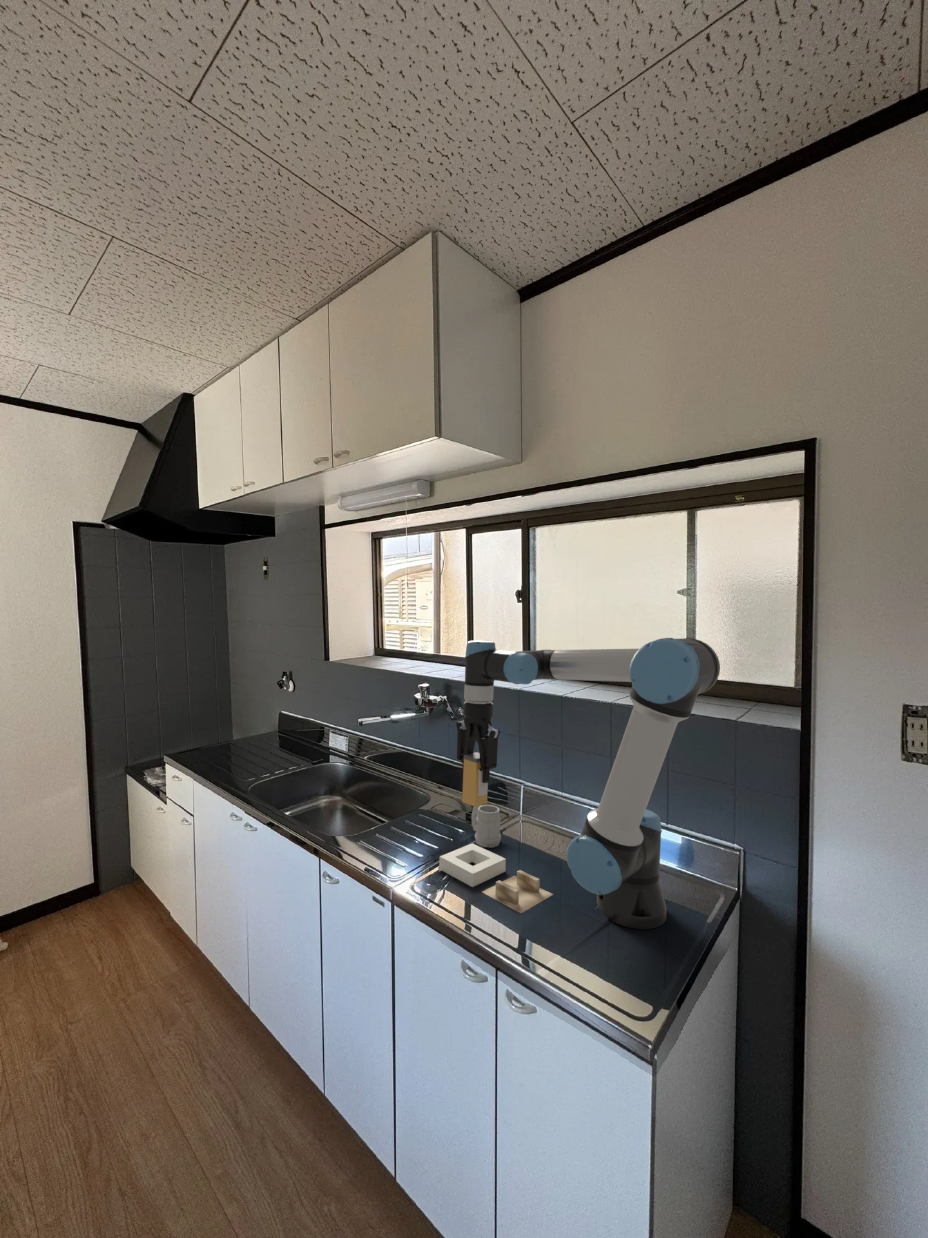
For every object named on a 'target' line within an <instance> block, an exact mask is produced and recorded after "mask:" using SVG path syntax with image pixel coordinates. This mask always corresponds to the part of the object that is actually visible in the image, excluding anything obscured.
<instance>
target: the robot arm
mask: <svg viewBox="0 0 928 1238" xmlns="http://www.w3.org/2000/svg"><path fill="white" fill-rule="evenodd" d="M464 660H465V661H464V664H465V665H464V667H465V668H464V669H465V670H464V671H465V672H464V688H463V689H464V690H463V699H464V700H465V701H463V711H462V712H463V716H464V719H463V720H460V721H457V722H456V724H455V726H456V732H457V736H456V737H457V739H456V740H457V742H456V759H457V761H461V764H462V775H463V770H464V755H466V754H471V753H474V750H475V746H476V743H477V744H478V745H477V746H478V753H479V754H480V762H481V768H480V769H479V776H478V796H482V795H486V794H487V795H488V792H487V785H488V786H489V782H490V778H491V776H490V773H491V770H493V769H496V768H497V767H498V765H497V764H498V747H499V746H498V745H499V743H498V741H499V738H500V737H499V736H500V734H501V730H500V729H495V728H494V727H493V726H492V725H493V724H492V720H491V719H492V717H493V716H494V714H493V713H494V703H493V702H492V701H493V700H494V689H495V687H494V685H495V681H498V682H504V683H509V684H511V683H512V684H513V685H529V684H531V683H532V682H533V681H536V680H537V681H538V680H553V681H555V680H561V681H565V680H567V681H568V680H569V681H589V682H591V681H592V682H593V681H594V682H595V681H597V682H598V681H599V682H619V683H620V682H623V683H624V682H626V683H627V682H628V683H631V684H632V685H631V688H630V691H629V695H628V697H629V699H630V701H631V703H632V705H633V707H632V710H631V713H630V716H629V719H628V722H627V725H626V727H625V731H624V733H623V735H622V740H621V742H620V744H619V747H618V750H617V752H616V757H615V758H614V761H613V765H612V767H611V770H610V772H609V776H608V779H607V782H606V784H605V788H604V791H603V793H602V796H601V798H600V802H599V805H598V807H597V808H593V809H591V810H590V811H589V812H588V813H587V816H586V818H585V822H584V823H583V824H584V825H583V826H582V830H581V832H580V834H579V835H577V836H575V837H574V838H573V839H572V840H571V841H570V842H569V844H568V846H567V848H566V862H567V866H568V869H570V871H571V875H572V877H573V878H574V880H575V881H576V882H577V884H579V885H580V886H581V887H582V888H583V889H584V890H585V891H588V892H590V893H592V894H594V895H596V905H597V908H598V909H599V910H600V911H601V913H602V914H604V915H605V916H606V917H608V920H609V921H611V922H612V923H614V924H616V925H620V926H623V927H626V928H629V929H634V930H635V929H636V930H652V929H656V928H658V927H661V926H662V925H663V924H664V923H666V921H667V909H668V908H667V904H666V900H665V897H664V893H663V889H662V886H661V883H660V868H661V867H660V866H661V864H660V863H661V841H662V835H661V834H662V832H663V831H662V825H661V824H662V821H661V818H660V816H659V815H658V814H657V813H655V812H654V811H652V810H649V809H647V807H648V804H649V801H650V799H651V796H652V793H653V791H654V789H655V786H656V783H657V780H658V778H659V775H660V773H661V769H662V767H663V764H664V761H665V759H666V756H667V754H668V750H669V748H670V745H671V743H672V739H673V738H674V734H675V731H676V729H677V726H678V723H680V722H682V721H685V720H687V719H689V718H690V716H691V714H692V711H693V708H694V706H695V703H696V701H697V698H698V695H701V694H703V693H705V692H707V691H709V690H710V689H711V688H713V686H714V685H716V682H717V681H718V679H719V676H720V671H721V663H720V660H719V656H718V654H717V653H716V651H715V650H714V649H713V648H712V647H711V646H710V645H709V644H707V643H706V642H704V641H702V640H699V639H696V638H690V637H689V638H688V637H686V638H674V637H664V638H663V637H662V638H659V639H658V638H657V639H655V640H653V641H649V642H648V643H645V644H644V645H642V646H641V647H640V648H600V649H598V648H597V649H596V648H595V649H593V648H591V649H590V648H589V649H587V648H586V649H539V650H519V651H518V650H517V651H512V650H511V651H510V650H499V649H497V648H496V643H495V642H494V641H490V640H469V641H468V642H467V643H466V649H465V656H464Z"/></svg>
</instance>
